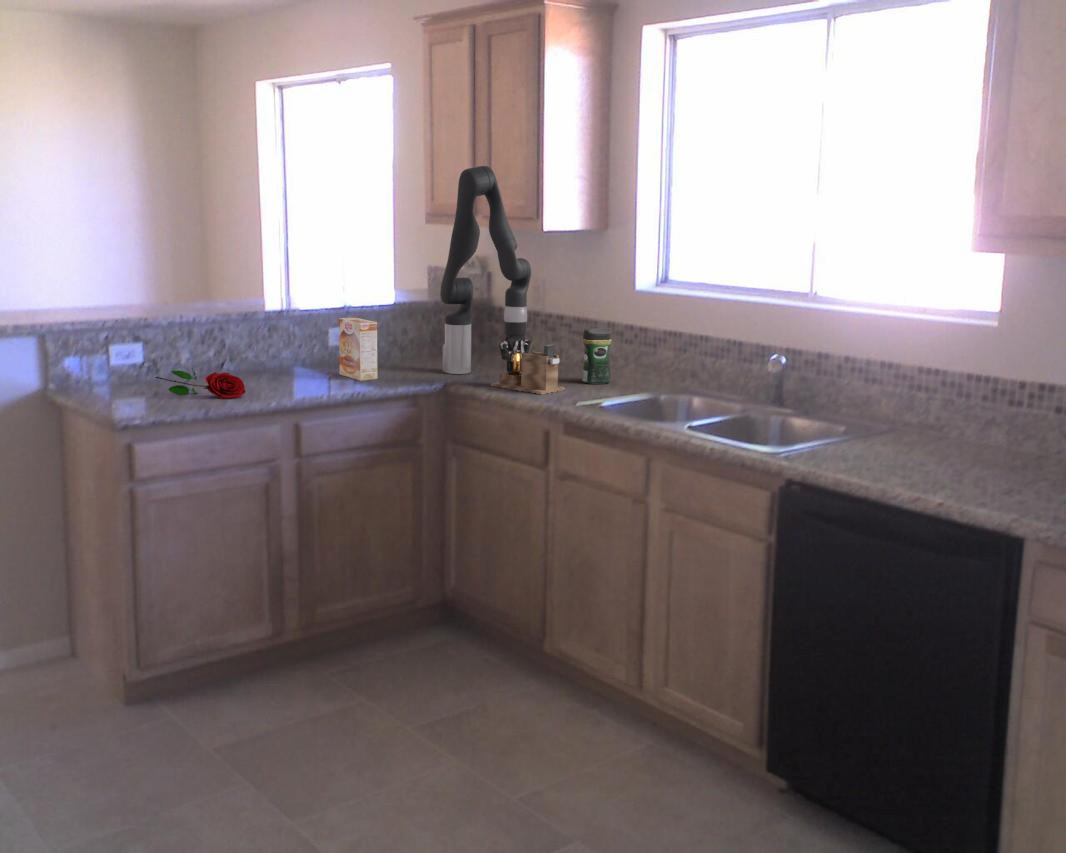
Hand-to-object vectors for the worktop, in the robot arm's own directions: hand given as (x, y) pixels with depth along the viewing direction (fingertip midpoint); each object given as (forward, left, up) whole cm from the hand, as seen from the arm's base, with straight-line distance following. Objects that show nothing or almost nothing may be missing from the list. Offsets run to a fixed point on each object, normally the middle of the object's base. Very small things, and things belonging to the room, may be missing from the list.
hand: (514, 371), depth 374 cm
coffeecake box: (-48, -26, -5) cm, 55 cm away
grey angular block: (+11, 0, +5) cm, 12 cm away
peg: (0, 0, -2) cm, 2 cm away
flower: (-54, -85, -5) cm, 100 cm away
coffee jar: (+14, +26, -5) cm, 30 cm away
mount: (+6, 0, -5) cm, 7 cm away
